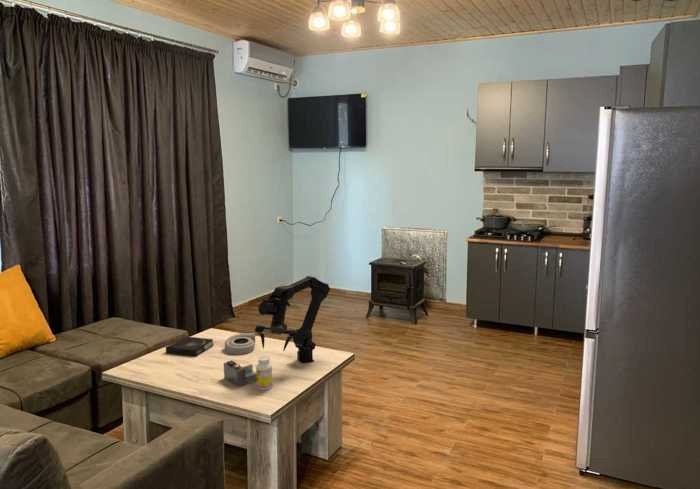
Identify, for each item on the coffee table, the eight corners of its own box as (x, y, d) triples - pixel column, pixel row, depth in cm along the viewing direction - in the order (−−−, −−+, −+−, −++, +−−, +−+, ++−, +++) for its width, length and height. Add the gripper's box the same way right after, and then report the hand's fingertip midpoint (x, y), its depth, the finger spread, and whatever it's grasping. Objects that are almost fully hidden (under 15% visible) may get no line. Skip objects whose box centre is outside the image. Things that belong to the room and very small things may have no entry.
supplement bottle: (257, 384, 232) (256, 355, 230) (273, 383, 233) (272, 355, 231) (256, 390, 226) (255, 361, 224) (272, 390, 226) (271, 360, 224)
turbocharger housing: (221, 357, 267) (252, 357, 267) (221, 345, 265) (251, 345, 265) (229, 343, 283) (258, 343, 283) (228, 331, 282) (257, 331, 282)
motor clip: (251, 370, 247) (250, 353, 246) (264, 378, 238) (264, 360, 237) (224, 378, 238) (223, 360, 237) (237, 386, 229) (236, 368, 228)
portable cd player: (196, 358, 264) (196, 350, 263) (166, 354, 268) (165, 346, 268) (213, 346, 279) (213, 339, 279) (185, 343, 284) (184, 336, 283)
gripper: (257, 314, 233) (251, 350, 233) (299, 320, 236) (294, 356, 235) (258, 311, 245) (253, 345, 244) (299, 317, 247) (294, 351, 246)
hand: (273, 349), depth 242 cm, fingers open, 9 cm apart
